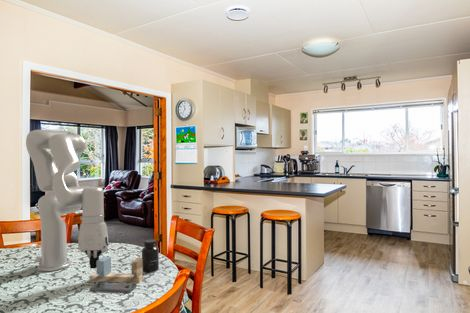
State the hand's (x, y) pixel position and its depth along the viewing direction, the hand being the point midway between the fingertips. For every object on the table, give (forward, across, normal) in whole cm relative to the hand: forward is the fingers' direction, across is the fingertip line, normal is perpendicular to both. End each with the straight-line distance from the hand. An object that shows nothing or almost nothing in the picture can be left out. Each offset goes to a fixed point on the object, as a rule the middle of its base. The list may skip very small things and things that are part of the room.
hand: (94, 267), depth 121 cm
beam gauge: (+5, +9, -2) cm, 10 cm away
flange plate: (+5, +12, -7) cm, 15 cm away
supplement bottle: (+5, +17, +12) cm, 22 cm away
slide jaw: (+3, +4, -2) cm, 5 cm away
